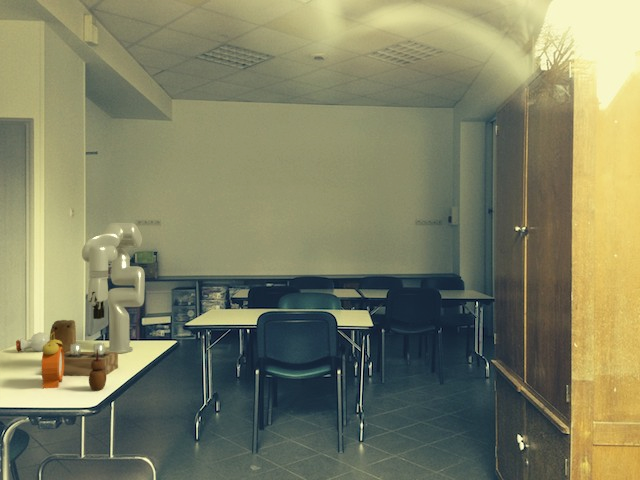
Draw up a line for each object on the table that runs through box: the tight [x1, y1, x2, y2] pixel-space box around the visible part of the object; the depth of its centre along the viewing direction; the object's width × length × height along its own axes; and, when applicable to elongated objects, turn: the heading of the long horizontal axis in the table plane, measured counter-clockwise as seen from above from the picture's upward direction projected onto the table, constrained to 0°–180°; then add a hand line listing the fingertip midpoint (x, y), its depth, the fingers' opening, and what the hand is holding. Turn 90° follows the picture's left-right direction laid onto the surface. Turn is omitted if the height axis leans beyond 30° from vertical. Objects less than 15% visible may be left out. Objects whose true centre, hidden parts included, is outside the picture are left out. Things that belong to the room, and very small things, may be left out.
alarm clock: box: [41, 332, 64, 390], centre depth 212 cm, size 13×6×20 cm, turn 17°
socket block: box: [63, 351, 119, 377], centre depth 232 cm, size 14×22×7 cm, turn 89°
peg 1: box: [70, 342, 82, 357], centre depth 231 cm, size 4×4×7 cm
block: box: [49, 319, 77, 353], centre depth 243 cm, size 11×8×20 cm
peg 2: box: [93, 342, 105, 357], centre depth 231 cm, size 4×4×7 cm
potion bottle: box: [15, 332, 50, 353], centre depth 271 cm, size 9×10×15 cm
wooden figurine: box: [88, 349, 107, 391], centre depth 206 cm, size 7×6×15 cm
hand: (98, 317), depth 231 cm, fingers closed
